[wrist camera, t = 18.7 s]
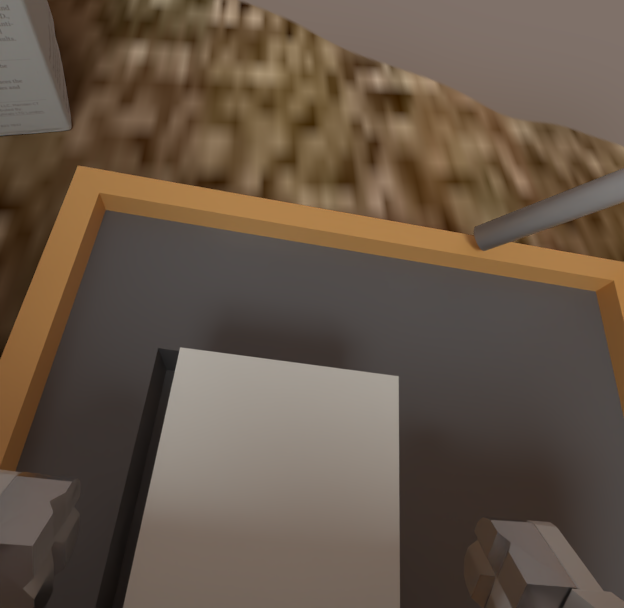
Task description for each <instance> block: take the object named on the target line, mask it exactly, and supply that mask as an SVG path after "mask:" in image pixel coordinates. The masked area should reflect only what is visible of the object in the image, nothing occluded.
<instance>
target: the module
mask: <svg viewBox="0 0 624 608" xmlns="http://www.w3.org/2000/svg"><path fill="white" fill-rule="evenodd" d="M123 608H400V532H399V376H393V375H385V374H378V373H370V372H363V371H355V370H348V369H340V368H332V367H325V366H317V365H310V364H302V363H295V362H287V361H280V360H272V359H264V358H257V357H249V356H242V355H234V354H227V353H219V352H212V351H204V350H197V349H189V348H181V347H180V350H179V355H178V359H177V364H176V369H175V373H174V378H173V382H172V387H171V391H170V396H169V400H168V405H167V410H166V414H165V419H164V423H163V428H162V432H161V437H160V441H159V446H158V450H157V455H156V460H155V464H154V469H153V473H152V478H151V482H150V487H149V491H148V496H147V501H146V505H145V510H144V514H143V519H142V523H141V528H140V532H139V537H138V541H137V546H136V551H135V555H134V560H133V564H132V569H131V573H130V578H129V582H128V587H127V592H126V596H125V601H124V605H123Z"/></svg>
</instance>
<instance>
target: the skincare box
mask: <svg viewBox="0 0 624 608" xmlns="http://www.w3.org/2000/svg"><path fill="white" fill-rule="evenodd" d="M71 127H72V126H71V114H70V108H69V102H68V95H67V89H66V83H65V77H64V71H63V66H62V61H61V56H60V51H59V47H58V43H57V40H56V37H55V29H54V21H53V17H52V14H51V11H50V8H49V5H48V1H47V0H0V136H3V135H16V134H31V133H42V132H54V131H64V130H70V129H71Z"/></svg>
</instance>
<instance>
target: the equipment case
mask: <svg viewBox="0 0 624 608" xmlns="http://www.w3.org/2000/svg"><path fill="white" fill-rule="evenodd" d="M623 202H624V168H623V169H620V170H618V171H615V172H613V173H610V174H608V175H605V176H603V177H600V178H598V179H595V180H592V181H590V182H587V183H585V184H582V185H580V186H577V187H575V188H572V189H570V190H567V191H565V192H562V193H560V194H557V195H554V196H552V197H549V198H547V199H544V200H542V201H539V202H537V203H534V204H532V205H529V206H527V207H524V208H522V209H519V210H516V211H514V212H511V213H509V214H506V215H504V216H501V217H499V218H496V219H494V220H491V221H489V222H486V223H484V224H481V225H478V226H476V227H475V228H474V235H468V234H462V233H457V232H451V231H445V230H440V229H434V228H429V227H423V226H417V225H412V224H406V223H400V222H395V221H389V220H383V219H378V218H372V217H366V216H361V215H355V214H349V213H344V212H338V211H332V210H327V209H321V208H315V207H310V206H304V205H298V204H293V203H287V202H281V201H276V200H270V199H264V198H259V197H253V196H248V195H242V194H236V193H231V192H225V191H219V190H214V189H208V188H202V187H197V186H191V185H185V184H180V183H174V182H168V181H163V180H157V179H151V178H146V177H140V176H134V175H129V174H123V173H117V172H112V171H106V170H100V169H95V168H89V167H83V166H78V167H77V169H76V172H75V174H74V177H73V179H72V182H71V184H70V187H69V189H68V192H67V194H66V197H65V199H64V202H63V204H62V207H61V209H60V212H59V214H58V217H57V219H56V222H55V224H54V227H53V229H52V232H51V234H50V236H49V239H48V241H47V244H46V246H45V249H44V251H43V254H42V256H41V259H40V261H39V264H38V266H37V269H36V271H35V274H34V276H33V279H32V281H31V284H30V286H29V289H28V291H27V294H26V296H25V299H24V301H23V304H22V306H21V309H20V311H19V314H18V316H17V319H16V321H15V324H14V326H13V329H12V331H11V334H10V336H9V339H8V341H7V344H6V346H5V349H4V351H3V354H2V356H1V359H0V470H8V471H16V472H30V473H39V474H47V475H55V476H64V477H72V478H77V479H78V480H80V497H79V498H78V500H77V502H76V504H75V506H74V507H75V508H76V509H77V511H78V512H79V513H80V524H79V530H78V536H77V539H76V543H75V546H74V549H73V552H72V554H71V557H70V559H69V561H68V563H67V565H66V567H65V569H63V570H62V571H60V572H59V573H58V574H56V575H55V576H53V593H52V595H51V597H50V599H49V601H48V603H47V605H46V607H45V608H123V605H124V601H125V596H126V592H127V587H128V582H129V578H130V573H131V569H132V564H133V560H134V555H135V551H136V546H137V541H138V537H139V532H140V528H141V523H142V519H143V514H144V510H145V505H146V501H147V496H148V491H149V487H150V482H151V478H152V473H153V469H154V464H155V460H156V455H157V450H158V446H159V441H160V437H161V432H162V428H163V423H164V419H165V414H166V410H167V405H168V400H169V396H170V391H171V387H172V382H173V378H174V373H175V369H176V364H177V359H178V355H179V350H180V347H181V348H189V349H197V350H204V351H212V352H219V353H227V354H234V355H242V356H249V357H257V358H264V359H272V360H280V361H287V362H295V363H302V364H310V365H317V366H325V367H332V368H340V369H348V370H355V371H363V372H370V373H378V374H385V375H393V376H399V532H400V608H482V607H481V606H480V605H479V604H478V603H476V602H475V601H474V600H473V599H472V598H471V596H470V593H469V591H468V588H467V586H466V582H465V577H464V557H465V554H466V551H467V548H468V547H469V546H470V545H471V544H473V543H474V542H475V541H477V540H478V539H477V536H476V534H475V532H474V530H475V527H476V525H477V523H478V521H479V520H480V519H481V518H482V517H491V518H503V519H514V520H524V521H528V520H530V521H542V522H550V523H552V524H553V525H555V526H556V527H557V528H558V529H559V531H560V532H561V533H562V535H563V536H564V537H565V539H566V540H567V542H568V543H569V544H570V546H571V547H572V548H573V550H574V551H575V552H576V554H577V555H578V557H579V558H580V559H581V561H582V562H583V563H584V565H585V566H586V568H587V569H588V570H589V572H590V573H591V574H592V576H593V577H594V578H595V580H596V581H597V583H598V584H599V585H600V587H601V588H602V589H603V591H607V592H612V593H613V594H614V595H616V596H617V597H619V598H620V599H621V600H623V601H624V262H621V261H615V260H610V259H604V258H598V257H593V256H587V255H581V254H576V253H570V252H564V251H559V250H553V249H547V248H542V247H536V246H530V245H525V244H519V243H513V242H512V241H515V240H518V239H521V238H523V237H526V236H529V235H532V234H535V233H538V232H540V231H543V230H546V229H549V228H552V227H555V226H557V225H560V224H563V223H566V222H569V221H572V220H575V219H577V218H580V217H583V216H586V215H589V214H592V213H594V212H597V211H600V210H603V209H606V208H609V207H611V206H614V205H617V204H620V203H623Z"/></svg>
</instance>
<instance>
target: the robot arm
mask: <svg viewBox="0 0 624 608" xmlns="http://www.w3.org/2000/svg"><path fill="white" fill-rule="evenodd" d="M79 497H80V480H78V479H77V478H72V477H64V476H55V475H47V474H39V473H30V472H16V471H8V470H0V608H45V607H46V605H47V603H48V601H49V599H50V597H51V595H52V593H53V576H55V575H56V574H58V573H59V572H60V571H62V570H63V569H65V567H66V565H67V563H68V561H69V559H70V557H71V554H72V552H73V549H74V546H75V543H76V539H77V536H78V530H79V524H80V513H79V512H78V511H77V509H76V508H75V507H74V506H75V504H76V502H77V500H78V498H79ZM474 532H475V534H476V536H477V539H478V540H477V541H475V542H474V543H473V544H471V545H470V546H469V547H468V548H467V551H466V554H465V557H464V577H465V582H466V586H467V588H468V591H469V593H470V596H471V598H472V599H473V600H474V601H475V602H476V603H478V604H479V605H480V606H481V607H482V608H624V601H623V600H621V599H620V598H619V597H617V596H616V595H614V594H613V593H612V592H607V591H603V589H602V588H601V587H600V585H599V584H598V583H597V581H596V580H595V578H594V577H593V576H592V574H591V573H590V572H589V570H588V569H587V568H586V566H585V565H584V563H583V562H582V561H581V559H580V558H579V557H578V555H577V554H576V552H575V551H574V550H573V548H572V547H571V546H570V544H569V543H568V542H567V540H566V539H565V537H564V536H563V535H562V533H561V532H560V531H559V529H558V528H557V527H556V526H555V525H553V524H552V523H550V522H542V521H530V520H528V521H524V520H514V519H503V518H491V517H482V518H481V519H480V520H479V521H478V523H477V525H476V527H475V530H474Z"/></svg>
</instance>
